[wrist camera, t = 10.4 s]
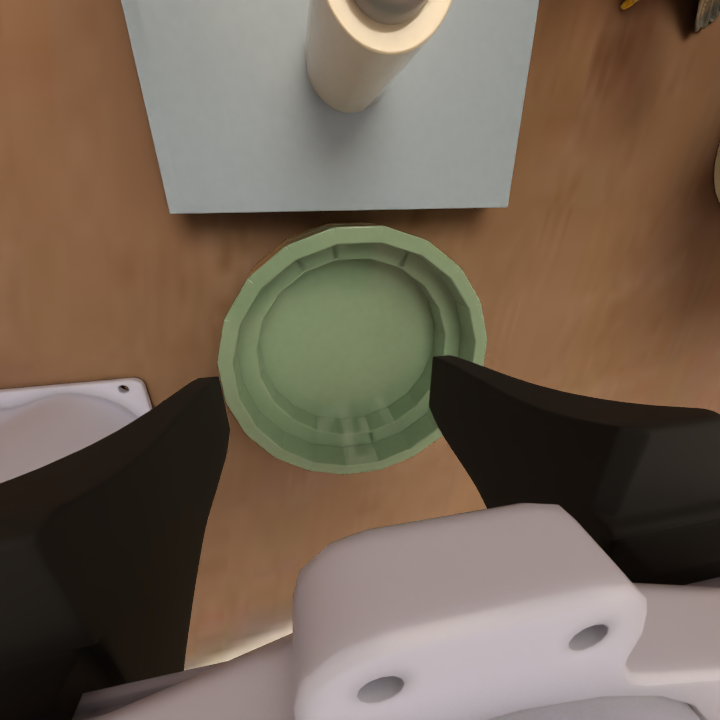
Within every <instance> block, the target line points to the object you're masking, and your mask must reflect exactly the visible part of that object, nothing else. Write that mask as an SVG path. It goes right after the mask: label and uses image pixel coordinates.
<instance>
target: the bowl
mask: <svg viewBox="0 0 720 720" xmlns="http://www.w3.org/2000/svg"><path fill="white" fill-rule="evenodd" d="M486 345H487V335H486V329H485V324H484V318H483V312H482V306H481V303H480V300H479V298H478V296H477V294H476V293H475V291H474V289H473V287H472V286H471V284H470V282H469V281H468V279H467V277H466V275H465V274H464V272H463V270H462V269H461V268H460V266H459V265H457V264H456V263H455V262H454V261H452V260H451V259H450V258H449V257H448V256H446V255H445V254H444V253H443V252H441V251H440V250H439V249H438V248H436V247H435V246H434V245H433V244H432V243H430V242H429V241H427V240H425V239H422V238H419V237H416V236H413V235H410V234H407V233H404V232H401V231H398V230H395V229H392V228H389V227H386V226H382V225H378V224H374V223H370V222H369V223H368V222H347V223H327V224H323V225H320V226H317V227H315V228H312V229H310V230H307V231H304V232H302V233H299V234H296V235H294V236H291V237H289V238H288V239H285V240H284V241H283V242H282V243H281V244H279V245H278V246H277V247H276V248H275V249H273V250H272V251H271V252H270V253H269V254H268V255H266V256H265V257H264V258H263V259H262V260H261V261H259V262H258V263H257V264H256V265H255V266H254V268H253V269H252V271H251V273H250V275H249V276H248V278H247V280H246V282H245V283H244V285H243V287H242V289H241V290H240V292H239V294H238V296H237V297H236V299H235V301H234V303H233V304H232V306H231V308H230V310H229V311H228V313H227V315H226V317H225V319H224V322H223V328H222V334H221V341H220V347H219V353H218V359H217V362H218V363H217V364H218V369H219V374H220V379H221V383H222V388H223V393H224V397H225V401H226V404H227V405H228V407H229V408H230V410H231V412H232V413H233V415H234V416H235V418H236V419H237V421H238V423H239V424H240V426H241V427H242V429H243V430H244V432H245V434H246V435H247V436H248V437H250V438H251V439H252V440H253V441H255V442H256V443H257V444H258V445H260V446H261V447H262V448H263V449H265V450H266V451H267V452H268V453H270V454H271V455H272V456H273V457H276V458H277V459H280V460H282V461H285V462H287V463H290V464H293V465H295V466H298V467H300V468H303V469H305V470H308V471H315V472H324V473H334V474H343V475H344V474H345V475H347V474H354V473H361V472H368V471H375V470H380V469H383V468H386V467H388V466H391V465H393V464H396V463H398V462H401V461H403V460H406V459H408V458H411V457H413V455H414V456H415V455H416V454H417V453H419V452H420V451H422V450H423V449H424V448H426V447H427V446H429V445H430V444H432V443H433V442H434V441H436V440H437V439H439V438H440V437H441V436H442V433H441V431H440V430H439V428H438V426H437V424H436V422H435V420H434V418H433V415H432V413H431V411H430V408H429V395H430V383H431V371H432V359H433V357H434V356H445V355H451V356H455V357H459V358H462V359H465V360H468V361H470V362H473V363H476V364H478V365H481V366H483V365H484V358H485V352H486Z"/></svg>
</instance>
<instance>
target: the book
mask: <svg viewBox="0 0 720 720" xmlns="http://www.w3.org/2000/svg"><path fill="white" fill-rule="evenodd" d="M121 2H122V7H123V11H124V15H125V20H126V24H127V29H128V33H129V37H130V42H131V46H132V50H133V55H134V59H135V63H136V68H137V72H138V77H139V81H140V85H141V90H142V94H143V98H144V103H145V107H146V112H147V116H148V120H149V125H150V129H151V133H152V138H153V142H154V146H155V151H156V155H157V160H158V164H159V168H160V173H161V177H162V181H163V186H164V190H165V194H166V199H167V203H168V208H169V212H170V214H194V213H246V212H297V211H349V210H400V209H452V208H503V207H508V201H509V194H510V188H511V181H512V175H513V168H514V162H515V155H516V149H517V142H518V136H519V129H520V123H521V116H522V110H523V103H524V97H525V90H526V84H527V77H528V70H529V64H530V57H531V51H532V44H533V38H534V31H535V25H536V18H537V12H538V5H539V0H452V3H451V5H450V8H449V10H448V12H447V15H446V16H445V18H444V20H443V22H442V24H441V25H440V26H439V28H438V29H437V31H436V32H435V33H434V34H433V35H432V37H431V38H430V39H429V40H428V41H427V43H426V44H425V45H424V46H423V47H422V48H421V50H420V51H419V52H418V53H417V54H416V56H415V57H414V58H413V59H412V60H411V61H410V63H409V64H408V65H407V66H406V67H405V69H404V70H403V71H402V72H401V73H400V74H399V76H398V77H397V78H396V79H395V80H394V82H393V83H392V84H391V85H390V86H389V87H388V89H387V90H386V91H385V92H384V93H383V95H382V96H381V97H380V98H379V99H378V100H377V101H376V102H375V104H373V105H372V106H371V107H369V108H368V109H366V110H364V111H361V112H357V113H344V112H340V111H337V110H335V109H333V108H332V107H330V106H328V105H327V104H326V103H325V102H324V101H323V100H322V99H321V98H320V97H319V96H318V94H317V93H316V92H315V90H314V88H313V87H312V85H311V82H310V80H309V77H308V74H307V71H306V66H305V58H304V49H305V38H306V28H307V17H308V6H309V0H121Z"/></svg>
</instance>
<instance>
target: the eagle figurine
mask: <svg viewBox="0 0 720 720" xmlns="http://www.w3.org/2000/svg"><path fill="white" fill-rule="evenodd" d="M637 1H639V0H625V2H624V3H622V4H621V9H622V10H625V9H627V8H629V7H630V6H632V5H633V4H634V3H636V2H637ZM719 11H720V0H699V4H698V11H697V15H696V19H695V27H694V32H697V31H698V30H699V29H700V27H701V28H702V29H705V28H706V27H707V25H708V23H709V21H710V22H714V21H715V20H716V19H717V17H718V15H719Z"/></svg>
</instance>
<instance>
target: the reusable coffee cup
mask: <svg viewBox="0 0 720 720" xmlns="http://www.w3.org/2000/svg"><path fill="white" fill-rule="evenodd" d="M714 183H715V191H716V194H717V197H718V200H719V202H720V145H719V148H718V152H717V157H716V161H715V171H714Z"/></svg>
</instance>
